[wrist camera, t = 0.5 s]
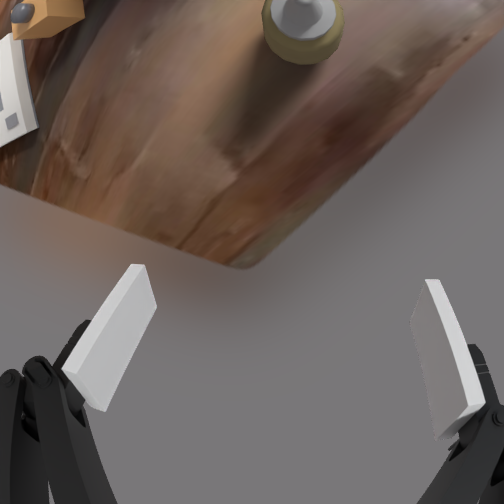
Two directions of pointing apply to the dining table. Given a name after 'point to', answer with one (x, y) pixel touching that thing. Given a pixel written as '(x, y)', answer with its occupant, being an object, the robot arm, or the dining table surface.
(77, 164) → the dining table surface
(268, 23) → the squeeze bottle
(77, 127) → the dining table surface
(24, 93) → the socket
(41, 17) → the plug
